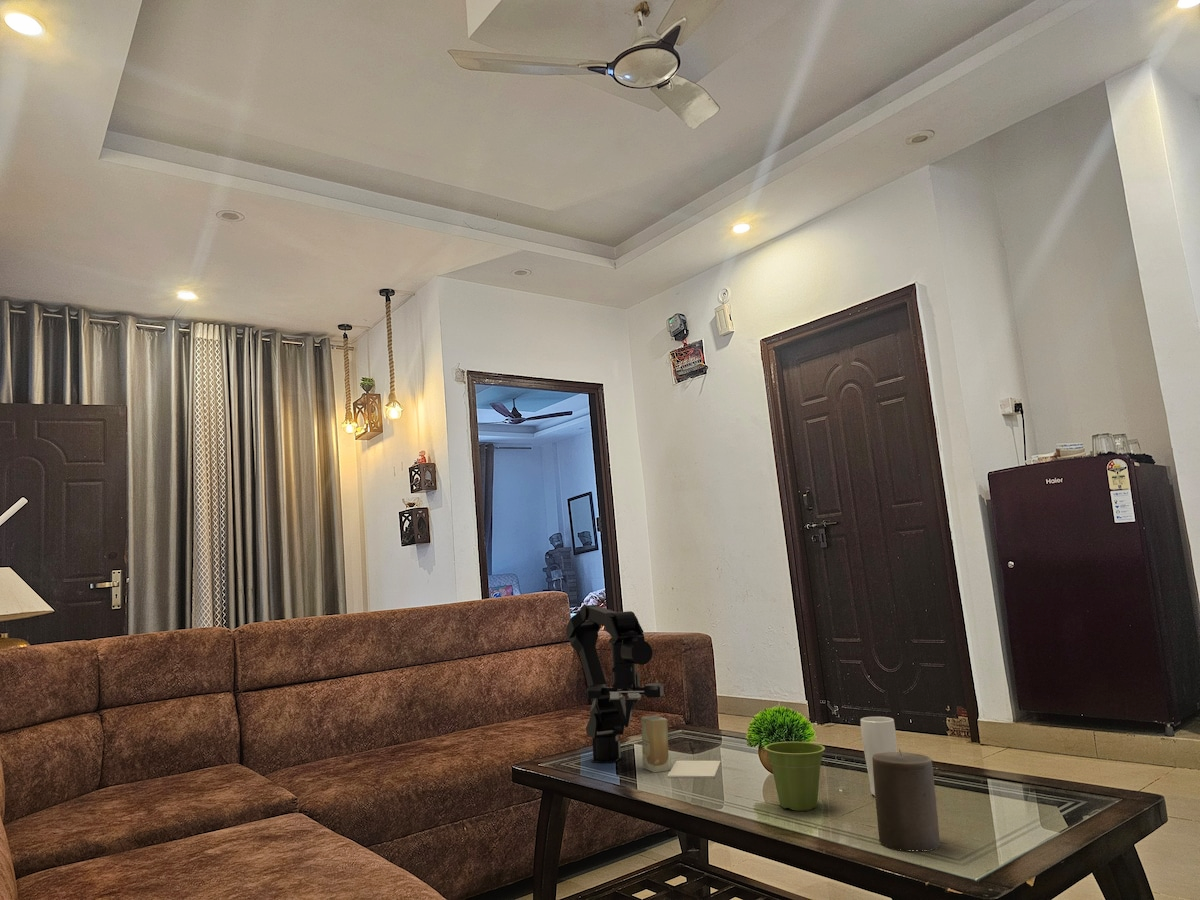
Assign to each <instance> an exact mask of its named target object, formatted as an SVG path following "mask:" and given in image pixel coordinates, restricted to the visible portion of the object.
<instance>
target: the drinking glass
mask: <svg viewBox="0 0 1200 900" xmlns="http://www.w3.org/2000/svg"><path fill="white" fill-rule="evenodd" d="M859 720H860V733H861V741H862V747H863V753H864V757H865V765H866V768H867V775H868V781H869V788H870V794H871V795H872V794H873V795H875V787H874V775H873V760H872V757H873V755H874V754H877V753H883V752H898V747H897V732H896V731H897V730H896V725H895V719H894V718H892V717H887V716H866V717H862V718H860V719H859ZM873 795H872V796H873Z"/></svg>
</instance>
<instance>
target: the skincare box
mask: <svg viewBox="0 0 1200 900" xmlns="http://www.w3.org/2000/svg"><path fill="white" fill-rule="evenodd" d="M640 718H641V721H640V722H641V748H642V750H641V751H642V768H643V769H645V770H648V771H650V772H652V773H660V772H661V773H662V772H667V771H670V760H669V759H670V758H669V757H670V755H669V753H670V752H669V736H668V734H669V733H668V719H667V718H665V717H662V716H658V715H650V716H642V717H640Z"/></svg>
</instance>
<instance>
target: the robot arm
mask: <svg viewBox="0 0 1200 900" xmlns="http://www.w3.org/2000/svg"><path fill="white" fill-rule="evenodd" d="M601 627H604V630H605V632H606V633H608V634H609V635H610V636H611V637H610V638H609V640H608V644H611V657H612V659H611V660H612V663H611V664H612V667H611V671H612V675H611V676H612V677H611V678H612V679H611V680H612V683H613V684H612V687H611V686H610V687H609V686H608V683H607V680H606V676H605V673H604V669H603V666H602V664H601V659H600V656H599V654H598V650H597V643H598V639H599V632H600V630H601ZM644 632H645V631H644V629H643V628H642V626H641V624H640V622H639V619H638V617H637V616H636V615H635V612H634V611H632V610H631V611H614V610H612V609H608V608H605V607H602V606H600V605H598V604H589V605H588V604H587V605H586V604H585V605H583V606H581V608H580V610H579V611H578V612H577V613H576V614H574V615H573V616H571V618H570V619H569V621H568V623H567V625H566V627H565V633H566V637H567V638H568V641H569V643H570V645H571V647H572V648H573V650H575V651H576V652H577V653H578V654H579V657H580V660H581V665H582V667H583V672H584V674H585V679H586V682H587V685H588V687H587V688H586V699H588V700H589V699H590V700H591V699H592V702H591V703H592V704H591V707H590V710H589V714H590V717H589V719H588V722H587V725H586V726H585V731H586V736H587V737H589V738H591V739H592V740H591V741H592V759H591V762H592V761H601V762H600V763H616V762H617V761H619V759H621V757H622V750H621V740H620V739H619V735H621V736H622V735H624V730H625V728H630V723H631V720H632V719H631V718H632V715H633V711H634V708H635V706H636V703H637V702H639V701H640V700H641V699H642V695H644V696H645V697H646V698H647V699H652V698H656V699H657V698H661V697H662V696H664V694H665V692H664V690H665V689H664V685H663V684H662V683H660V682H659V683H655V682H654V683H652V682H651V683H646V684H645V685H644V686H640V685H641V683H640V681H641V680H640V679H641V675H640V674H639V673H638V672H637V666H636V665H641V666H643V665H646V664H649V662H650V661H651V660H652V657H653V649H652V647H651V645H650V643H649V642H647V641H646V640H645V634H644ZM625 695H626V696H627V698H626V696H625Z"/></svg>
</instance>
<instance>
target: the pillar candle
mask: <svg viewBox="0 0 1200 900" xmlns="http://www.w3.org/2000/svg"><path fill="white" fill-rule="evenodd" d="M872 760H873V775H874V787H875V796H874V798H875V809H876V820H877V821H876V823H877V830H878V841H879V843H880V842H881V843H880V844H881V845H883V846H885V847H887V848H889V847H890V849H892V848H893V849H892V850H895V849H899V850H900V849H901V850H911V851H912V850H914V851H916V850H918V851H922V850H923V851H924V850H931V849H935V850H937V849H938V847H939V848H940V846H941V838H940V830H939V829H940V828H939V819H938V810H937V809H938V807H937V797H936V786H935V779H934V769H933V758H932V757H930V756H928V755H924V754H921V753H914V752H907V751H901V749H900V748H898V751H897V752H883V753H877V754H874V755H873V757H872ZM936 848H937V849H936ZM899 850H898V851H899ZM931 851H932V850H931Z"/></svg>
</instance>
